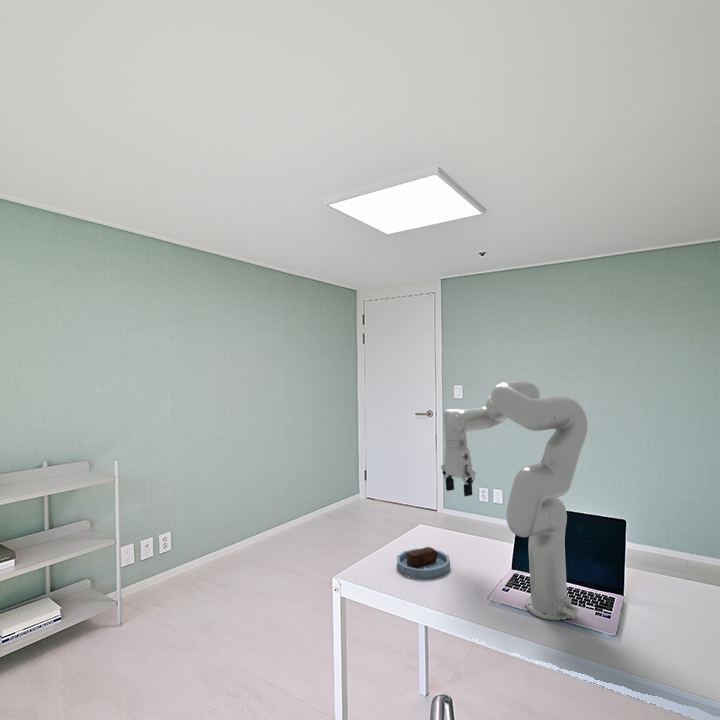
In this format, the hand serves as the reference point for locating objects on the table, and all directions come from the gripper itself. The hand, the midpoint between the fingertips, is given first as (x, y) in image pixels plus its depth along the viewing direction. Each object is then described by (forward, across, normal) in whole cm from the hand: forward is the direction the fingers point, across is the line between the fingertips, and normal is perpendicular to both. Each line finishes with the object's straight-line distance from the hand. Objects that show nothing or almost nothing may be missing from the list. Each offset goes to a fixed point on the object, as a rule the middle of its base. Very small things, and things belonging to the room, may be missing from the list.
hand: (459, 492), depth 162 cm
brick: (+24, +6, +14) cm, 28 cm away
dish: (+24, +6, +13) cm, 28 cm away
